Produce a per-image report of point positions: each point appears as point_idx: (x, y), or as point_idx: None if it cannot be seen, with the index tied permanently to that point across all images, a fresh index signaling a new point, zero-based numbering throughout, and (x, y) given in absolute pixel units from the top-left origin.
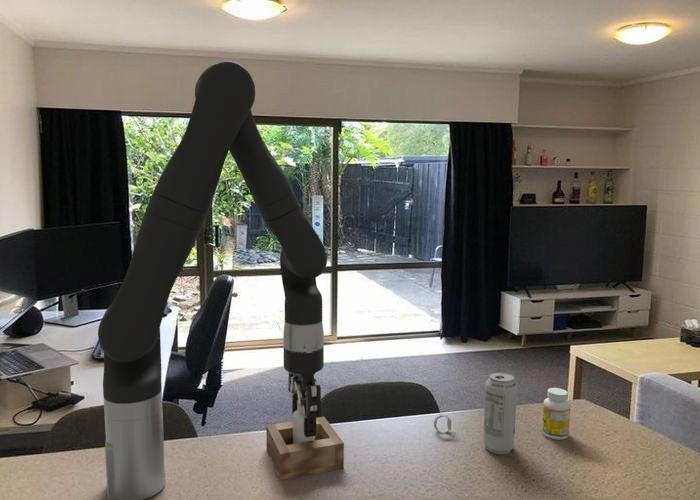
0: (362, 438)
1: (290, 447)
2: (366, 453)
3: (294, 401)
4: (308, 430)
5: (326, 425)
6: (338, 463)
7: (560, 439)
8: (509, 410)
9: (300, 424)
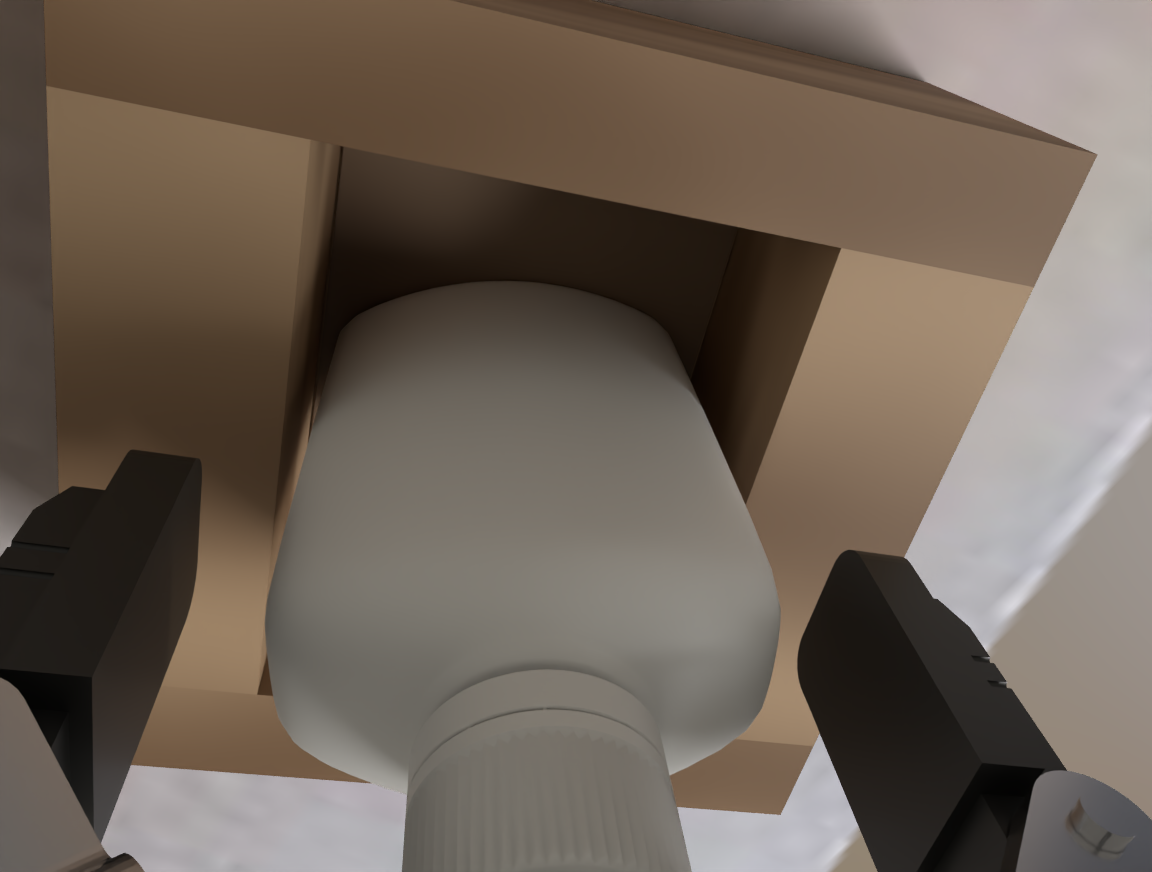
0: None
1: (207, 165)
2: (321, 787)
3: (954, 762)
4: (16, 548)
5: None
6: None
7: None
8: None
9: (371, 528)
